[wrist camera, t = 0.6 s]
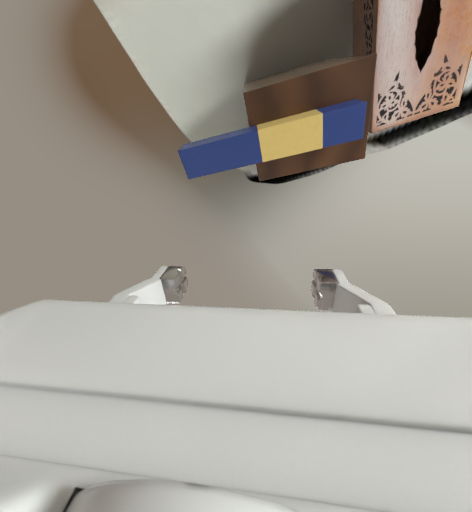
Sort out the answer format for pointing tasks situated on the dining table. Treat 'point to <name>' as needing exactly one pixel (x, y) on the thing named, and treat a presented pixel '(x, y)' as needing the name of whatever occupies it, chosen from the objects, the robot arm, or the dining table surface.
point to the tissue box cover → (413, 56)
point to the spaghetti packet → (276, 139)
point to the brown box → (312, 107)
